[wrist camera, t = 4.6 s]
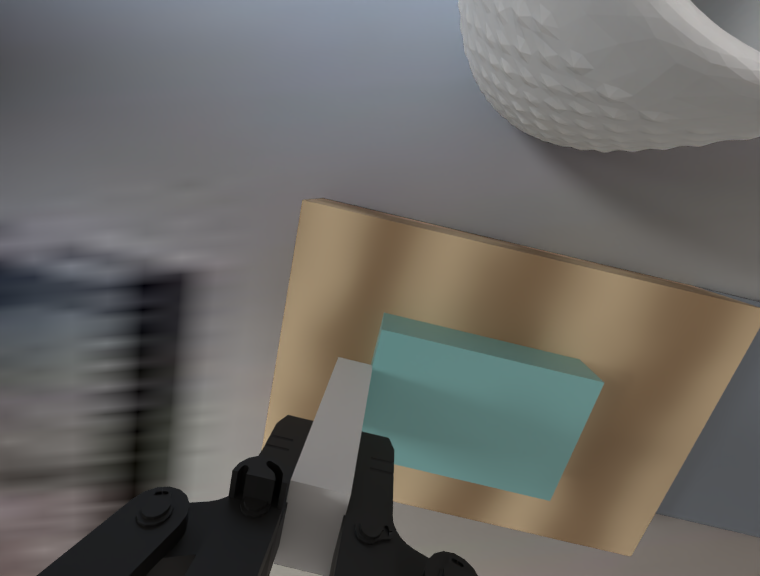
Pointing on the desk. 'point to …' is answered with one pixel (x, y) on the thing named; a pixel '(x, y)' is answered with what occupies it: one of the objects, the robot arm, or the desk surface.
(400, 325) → the teal rectangular block
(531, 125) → the mug
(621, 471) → the board
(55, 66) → the desk surface
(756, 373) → the mat
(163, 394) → the desk surface
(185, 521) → the robot arm
